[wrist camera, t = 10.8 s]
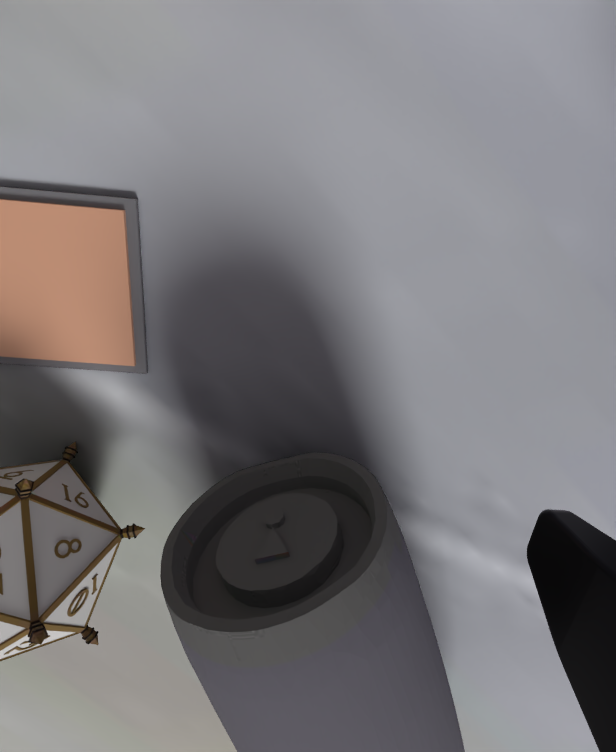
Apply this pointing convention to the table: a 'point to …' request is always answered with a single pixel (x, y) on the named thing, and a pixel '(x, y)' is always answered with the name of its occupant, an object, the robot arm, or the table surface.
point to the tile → (71, 281)
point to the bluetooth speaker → (307, 613)
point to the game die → (51, 554)
